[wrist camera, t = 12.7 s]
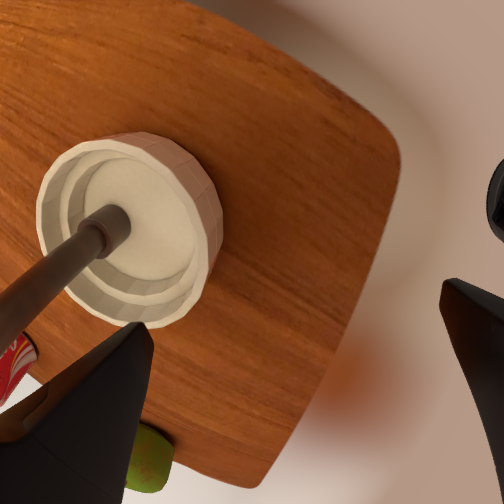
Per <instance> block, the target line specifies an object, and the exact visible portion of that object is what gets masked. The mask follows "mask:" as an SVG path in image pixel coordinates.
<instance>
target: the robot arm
mask: <svg viewBox="0 0 504 504" xmlns="http://www.w3.org/2000/svg"><path fill="white" fill-rule="evenodd" d="M497 217H498V219H497V220H496V218H497ZM491 220H492V222H493V223H494V224H495V225H496V226H498V227H499V228H500V229H501V230H503V231H504V191H503V193H502V195H501V198H500V200H499V202H498V204H497V206H496V208H495V210H494V212H493V214H492V217H491ZM439 308H440V312H441V315H442V317H443V320H444V323H445V326H446V329H447V331H448V334H449V337H450V340H451V343H452V346H453V348H454V351H455V354H456V356H457V359H458V361H459V363H460V366H461V368H462V370H463V373H464V375H465V377H466V380H467V382H468V385H469V387H470V390H471V392H472V395H473V398H474V400H475V403H476V406H477V408H478V411H479V414H480V417H481V420H482V423H483V426H484V429H485V432H486V436H487V439H488V442H489V446H490V449H491V452H492V456H493V460H494V464H495V466H496V472H497V476H498V481H499V486H500V491H501V496H502V501H503V504H504V299H503V298H500V297H498V296H496V295H494V294H492V293H490V292H487V291H485V290H483V289H480V288H478V287H476V286H474V285H471V284H469V283H467V282H465V281H462V280H460V279H458V278H451V279H447V280H445V281H444V282H443V284H442V290H441V296H440V302H439ZM153 352H154V342H153V340H152V338H151V336H150V334H149V332H148V329H147V327H146V325H145V324H144V323H143V322H141V321H136V322H130V323H128V324H127V325H125V326H124V327H123V328H121V329H120V330H119V331H117V332H116V333H114V334H113V335H112V336H110V337H109V338H107V339H106V340H105V341H103V342H102V343H101V344H99V345H98V346H96V347H95V348H94V349H92V350H91V351H90V352H88V353H87V354H85V355H84V356H83V357H81V358H80V359H79V360H77V361H76V362H74V363H73V364H72V365H70V366H69V367H68V368H66V369H65V370H63V371H62V372H61V373H59V374H58V375H57V376H55V377H54V378H53V379H51V381H48V382H47V383H46V384H44V385H43V386H42V387H40V388H39V389H38V390H36V391H35V392H33V393H32V394H31V395H29V396H28V397H26V398H25V399H23V400H22V401H20V402H19V403H17V404H15V405H14V406H12V407H11V408H9V409H7V410H6V411H4V412H3V413H1V414H0V504H121V503H122V499H123V493H124V488H125V483H126V478H127V473H128V469H129V464H130V459H131V455H132V450H133V446H134V442H135V437H136V433H137V429H138V425H139V421H140V417H141V413H142V409H143V405H144V401H145V397H146V393H147V388H148V383H149V377H150V370H151V364H152V358H153Z"/></svg>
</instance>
